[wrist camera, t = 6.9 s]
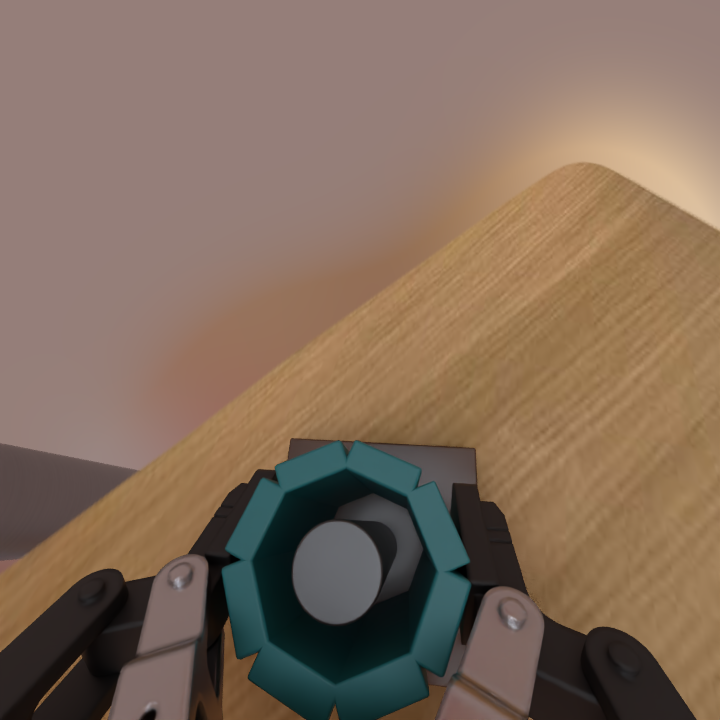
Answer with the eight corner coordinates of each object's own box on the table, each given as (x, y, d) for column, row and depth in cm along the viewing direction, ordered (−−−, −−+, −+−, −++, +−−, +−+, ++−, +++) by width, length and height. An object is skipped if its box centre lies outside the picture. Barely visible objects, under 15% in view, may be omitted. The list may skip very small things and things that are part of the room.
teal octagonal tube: (285, 582, 16) (178, 632, 8) (341, 459, 17) (294, 412, 10) (409, 654, 14) (410, 793, 7) (456, 511, 16) (497, 500, 9)
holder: (265, 652, 16) (67, 828, 7) (295, 442, 19) (195, 369, 10) (482, 683, 14) (606, 953, 5) (472, 451, 18) (535, 378, 9)
